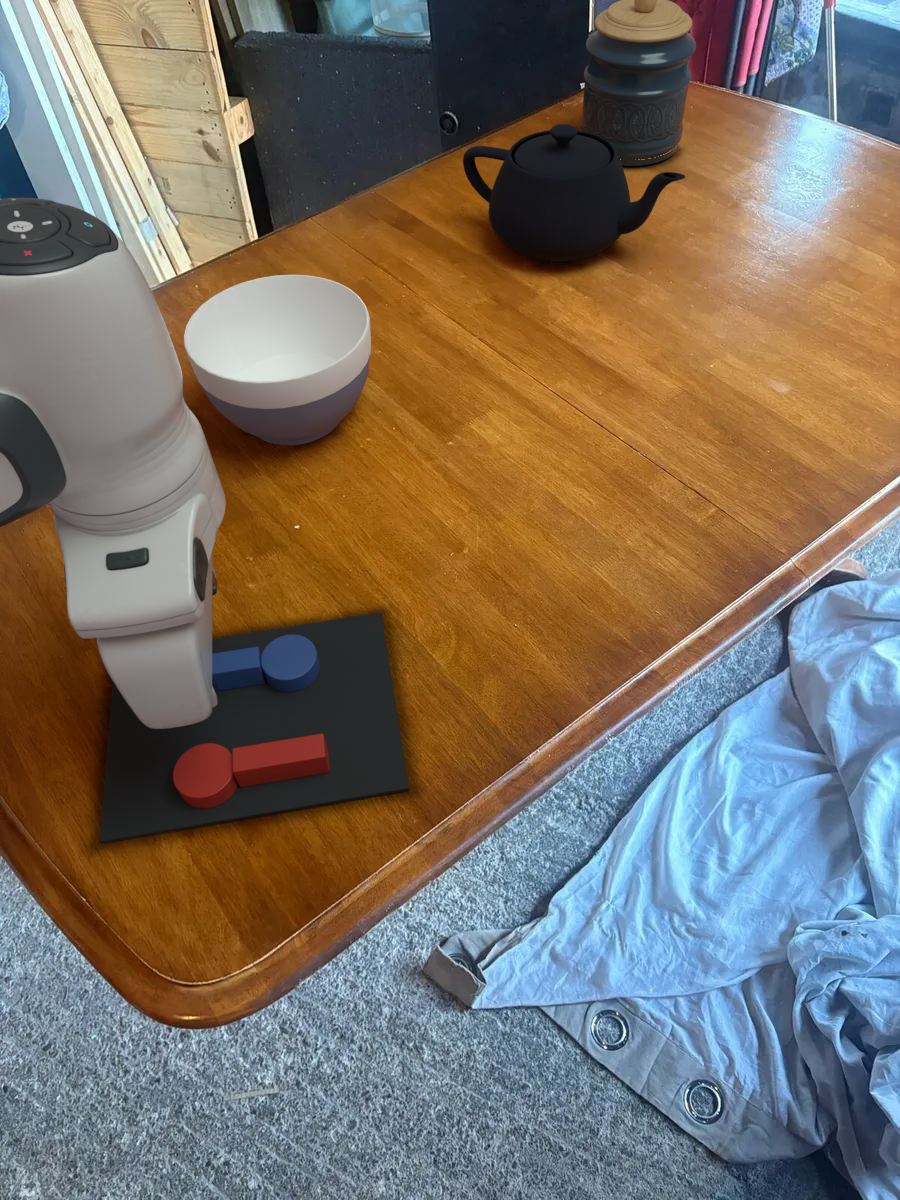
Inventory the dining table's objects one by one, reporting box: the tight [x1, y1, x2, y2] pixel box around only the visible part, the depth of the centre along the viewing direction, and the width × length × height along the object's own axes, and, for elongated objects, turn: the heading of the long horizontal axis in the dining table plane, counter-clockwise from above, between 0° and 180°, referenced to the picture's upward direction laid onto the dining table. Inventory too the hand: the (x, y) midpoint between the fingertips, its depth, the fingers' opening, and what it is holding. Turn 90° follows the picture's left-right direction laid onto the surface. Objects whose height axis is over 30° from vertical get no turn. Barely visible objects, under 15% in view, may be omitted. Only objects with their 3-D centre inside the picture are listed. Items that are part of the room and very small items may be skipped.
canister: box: [579, 0, 697, 167], centre depth 108 cm, size 13×13×18 cm
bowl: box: [183, 274, 372, 446], centre depth 80 cm, size 16×16×10 cm
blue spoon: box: [212, 635, 320, 692], centre depth 64 cm, size 10×4×2 cm, turn 100°
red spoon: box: [173, 734, 330, 808], centre depth 59 cm, size 10×4×2 cm, turn 100°
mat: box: [99, 611, 410, 845], centre depth 62 cm, size 20×15×1 cm
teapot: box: [462, 123, 686, 265], centre depth 96 cm, size 25×16×12 cm, turn 63°
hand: (205, 641), depth 60 cm, fingers open, 8 cm apart
